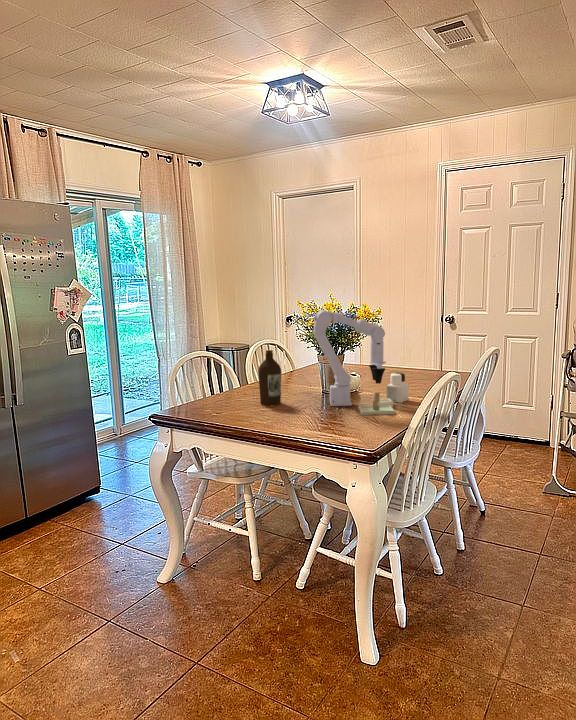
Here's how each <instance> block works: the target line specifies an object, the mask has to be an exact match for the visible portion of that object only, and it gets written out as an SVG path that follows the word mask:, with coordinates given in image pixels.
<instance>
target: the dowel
mask: <svg viewBox="0 0 576 720" xmlns="http://www.w3.org/2000/svg"><path fill="white" fill-rule="evenodd" d="M379 399H381V398H380V392H379V391H373V392H372V406H373V410H375V411H377V410H379Z"/></svg>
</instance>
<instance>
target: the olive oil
mask: <svg viewBox="0 0 576 720" xmlns="http://www.w3.org/2000/svg"><path fill="white" fill-rule="evenodd" d="M257 370H258V385H259V401H260V405H261V404H264V405H263V406H265V405H274V406H277V405H276V404H279V403H280V404H282V403H281V401H282V398H281V397H282V395H281V394H282V392H281V391H282V390H281V388H282V368H281V365H280V364H279V363H278V362H277V361H276V360H275V359H274V353H273V350H272V349H266V350H265V359H264V360H263V361H262V363H260V365H259V366H258V369H257ZM280 404H279V405H280Z"/></svg>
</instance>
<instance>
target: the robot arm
mask: <svg viewBox="0 0 576 720" xmlns="http://www.w3.org/2000/svg"><path fill="white" fill-rule="evenodd" d="M314 316H315V317H314V319H313V330H312V331H313V333H312V334H313V336H314V338H315V340H316V341H317V344H318V345H319V347H320V349H321V351H322V352H323V355H324V357H325V359H326V360H327V362H328V364H329V366H330V368H331V369H332V372H333V379H334V380H335V382H334V384H333V385H332V384H331V385H329V404H330V406H331V407H339V406H340V407H342V406H343V407H344V406H345V407H346V406H350V407H351V406H353V403H352V402H351V380H352V379H351V378H352V376H351V375H350V374H349V373H348V372H347V371H346V369H345V368H344V367H343V365H342V363H341V362H340V360H339V358H338V356H337V354H336V353H335V350H334V348H333V347H332V344H331V342H330V341H329V338H328V337H327V335H326V331H327V329H328V327H329V326H330V325H331V323H332V324H335V323H341V324H343V325H346V326H349V327H352V328H354V329H355V330H354V331H355V332H356V333H357V332H358V333H360V334H363V335H365V336H368V337H369V336H370V362H369V365H368V366H369V368H370V371H371V376H372V380H373V381H375V384H382V380H383V375H384V373H385V370H386V367H383V365H385V364H387V362H386V361H384V337H385V335H386V332H385V329H384V328H383V327H382V326H379V325H378V324H376V323H374V322H373V323H371V322H369V321H367V320H366V319H364V318H362V319H357V320H356V319H352V318H350V317H348V316H345V315H343V314H340V313H337V312H333V311H327V310H324V309H321V310H319V311H317V313H316V314H315V315H314Z"/></svg>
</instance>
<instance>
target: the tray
mask: <svg viewBox="0 0 576 720" xmlns="http://www.w3.org/2000/svg"><path fill="white" fill-rule="evenodd" d="M357 409H358V411H359V413H360V415H362V416H367V415H368V414H370V415H371V416H372V414H373V415H374V414H379V415H395V413H396V411H395V409H394V407H393V408H392V407H391V406H390V405H382V406H379V410H377V411H375V410H373V405H358V407H357ZM370 415H368V416H370ZM374 416H375V415H374Z"/></svg>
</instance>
